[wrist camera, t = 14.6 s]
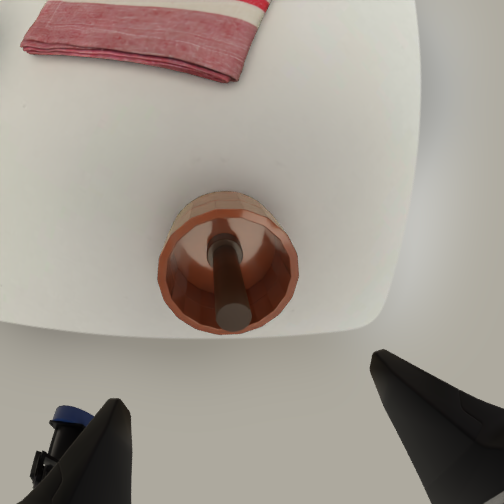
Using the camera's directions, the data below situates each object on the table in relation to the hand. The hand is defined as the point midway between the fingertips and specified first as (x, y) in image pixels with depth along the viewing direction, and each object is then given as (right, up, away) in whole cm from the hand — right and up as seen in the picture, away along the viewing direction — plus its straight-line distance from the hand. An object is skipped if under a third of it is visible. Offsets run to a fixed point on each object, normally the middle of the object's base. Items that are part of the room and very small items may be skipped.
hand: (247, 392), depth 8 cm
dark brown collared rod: (-2, +5, +11) cm, 12 cm away
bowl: (-2, +5, +12) cm, 13 cm away
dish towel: (-5, +28, +2) cm, 28 cm away
